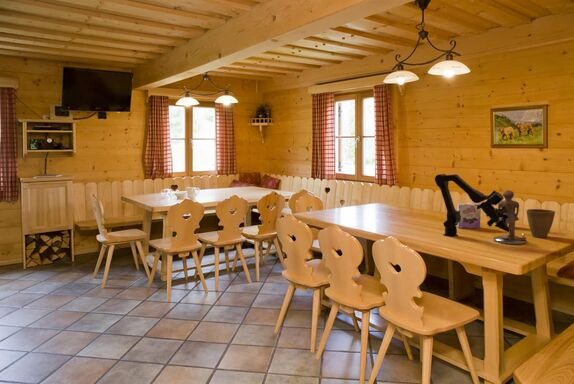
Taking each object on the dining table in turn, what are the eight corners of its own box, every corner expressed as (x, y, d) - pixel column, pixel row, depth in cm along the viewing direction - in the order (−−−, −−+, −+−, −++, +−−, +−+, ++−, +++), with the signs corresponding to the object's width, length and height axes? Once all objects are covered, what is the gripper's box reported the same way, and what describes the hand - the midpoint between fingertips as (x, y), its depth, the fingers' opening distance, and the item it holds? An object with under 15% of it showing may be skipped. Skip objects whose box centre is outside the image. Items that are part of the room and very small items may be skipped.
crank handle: (505, 241, 239) (506, 221, 238) (499, 236, 251) (500, 217, 250) (529, 241, 236) (530, 222, 235) (522, 236, 249) (523, 218, 247)
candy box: (458, 228, 286) (459, 204, 284) (456, 226, 292) (457, 203, 290) (480, 228, 284) (480, 204, 282) (477, 227, 289) (478, 203, 287)
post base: (487, 240, 250) (487, 232, 249) (506, 237, 258) (506, 229, 257) (513, 246, 235) (514, 237, 234) (533, 242, 243) (533, 234, 242)
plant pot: (559, 238, 251) (561, 211, 249) (537, 239, 249) (538, 213, 247) (541, 233, 266) (542, 208, 264) (519, 234, 263) (520, 209, 261)
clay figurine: (519, 226, 287) (520, 190, 285) (518, 229, 279) (520, 191, 276) (497, 225, 294) (499, 189, 291) (496, 227, 285) (497, 190, 283)
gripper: (493, 202, 235) (513, 225, 228) (507, 200, 248) (526, 220, 241) (478, 215, 242) (498, 237, 235) (492, 212, 254) (511, 232, 247)
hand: (509, 231), depth 239 cm, fingers closed
